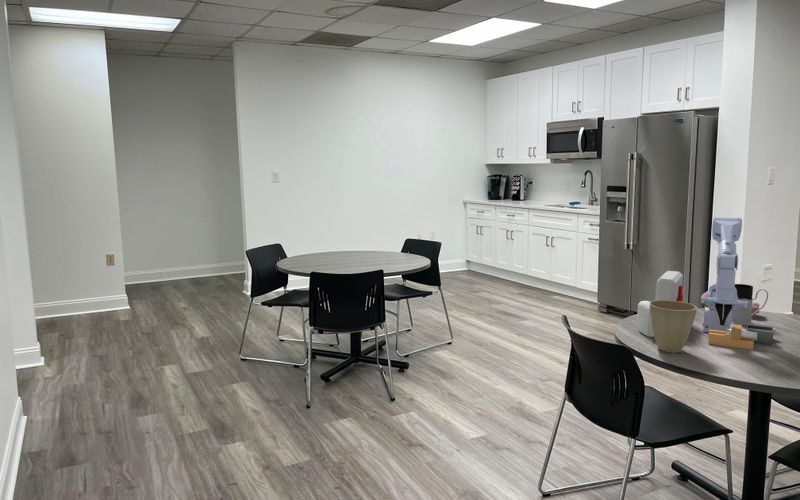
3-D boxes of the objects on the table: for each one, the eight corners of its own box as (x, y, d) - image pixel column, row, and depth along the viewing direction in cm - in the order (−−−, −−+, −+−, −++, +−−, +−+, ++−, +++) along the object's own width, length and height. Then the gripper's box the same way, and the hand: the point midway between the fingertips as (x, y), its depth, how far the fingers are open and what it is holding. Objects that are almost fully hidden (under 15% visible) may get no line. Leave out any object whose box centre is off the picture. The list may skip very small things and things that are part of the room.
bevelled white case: (675, 332, 230) (678, 280, 227) (653, 329, 234) (656, 278, 231) (683, 319, 248) (686, 271, 245) (662, 317, 252) (664, 270, 249)
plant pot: (676, 359, 199) (679, 312, 196) (637, 347, 211) (640, 303, 209) (703, 351, 207) (706, 306, 204) (664, 340, 219) (666, 298, 217)
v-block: (746, 341, 218) (747, 329, 217) (746, 334, 226) (747, 323, 225) (772, 344, 214) (773, 332, 213) (771, 337, 222) (772, 326, 221)
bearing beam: (707, 343, 216) (709, 325, 215) (708, 339, 221) (710, 321, 220) (753, 349, 209) (754, 330, 208) (752, 344, 214) (754, 326, 213)
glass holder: (723, 318, 248) (726, 283, 246) (760, 320, 247) (763, 284, 244) (732, 324, 240) (735, 287, 238) (770, 325, 238) (773, 288, 236)
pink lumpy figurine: (752, 322, 248) (762, 308, 246) (741, 316, 250) (751, 302, 248) (752, 317, 257) (762, 303, 254) (742, 311, 258) (751, 298, 256)
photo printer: (634, 329, 234) (636, 298, 232) (645, 329, 234) (647, 298, 232) (647, 337, 223) (648, 305, 221) (658, 337, 224) (660, 304, 222)
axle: (724, 337, 214) (725, 329, 214) (724, 335, 217) (725, 327, 216) (756, 341, 209) (757, 333, 209) (756, 339, 212) (757, 331, 211)
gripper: (701, 287, 213) (698, 324, 215) (748, 291, 206) (745, 330, 208) (702, 283, 219) (700, 320, 221) (748, 287, 212) (745, 325, 214)
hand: (722, 324), depth 215 cm, fingers closed
